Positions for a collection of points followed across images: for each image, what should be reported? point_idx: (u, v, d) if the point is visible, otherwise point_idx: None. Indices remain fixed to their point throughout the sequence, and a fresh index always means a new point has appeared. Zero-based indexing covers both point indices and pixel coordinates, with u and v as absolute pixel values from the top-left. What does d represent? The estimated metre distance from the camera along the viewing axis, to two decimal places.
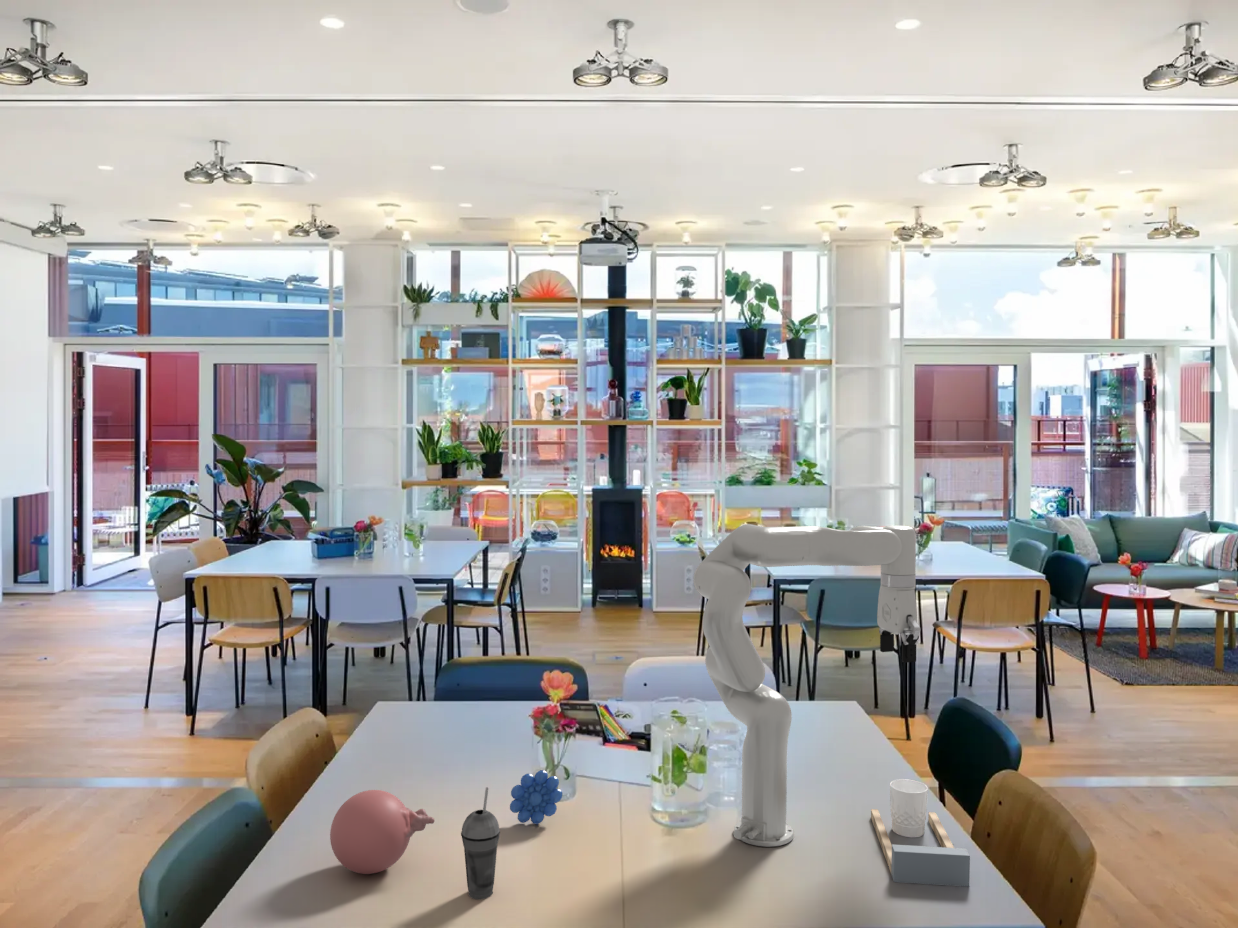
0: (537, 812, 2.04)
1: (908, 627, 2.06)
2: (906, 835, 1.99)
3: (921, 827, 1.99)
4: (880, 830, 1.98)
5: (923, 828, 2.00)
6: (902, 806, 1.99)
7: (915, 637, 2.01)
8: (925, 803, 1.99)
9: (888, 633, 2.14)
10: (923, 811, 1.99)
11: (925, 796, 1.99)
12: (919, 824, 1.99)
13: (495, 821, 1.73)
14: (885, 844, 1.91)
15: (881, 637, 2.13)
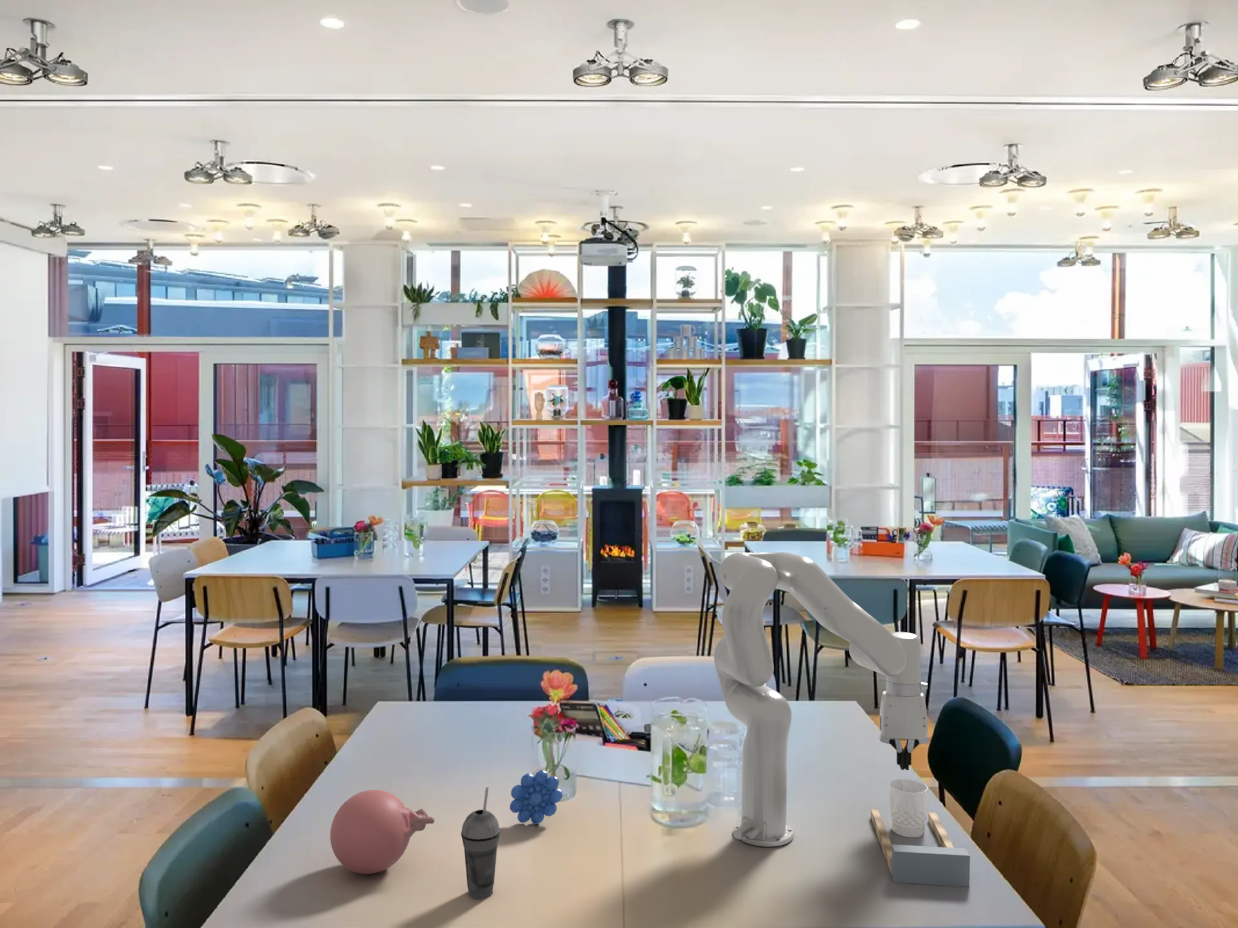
0: (537, 812, 2.04)
1: None
2: (906, 835, 1.99)
3: (921, 827, 1.99)
4: (880, 830, 1.98)
5: (923, 828, 2.00)
6: (902, 806, 1.99)
7: None
8: (925, 803, 1.99)
9: (905, 749, 2.11)
10: (923, 811, 1.99)
11: (925, 796, 1.99)
12: (919, 824, 1.99)
13: (495, 821, 1.73)
14: (885, 844, 1.91)
15: None
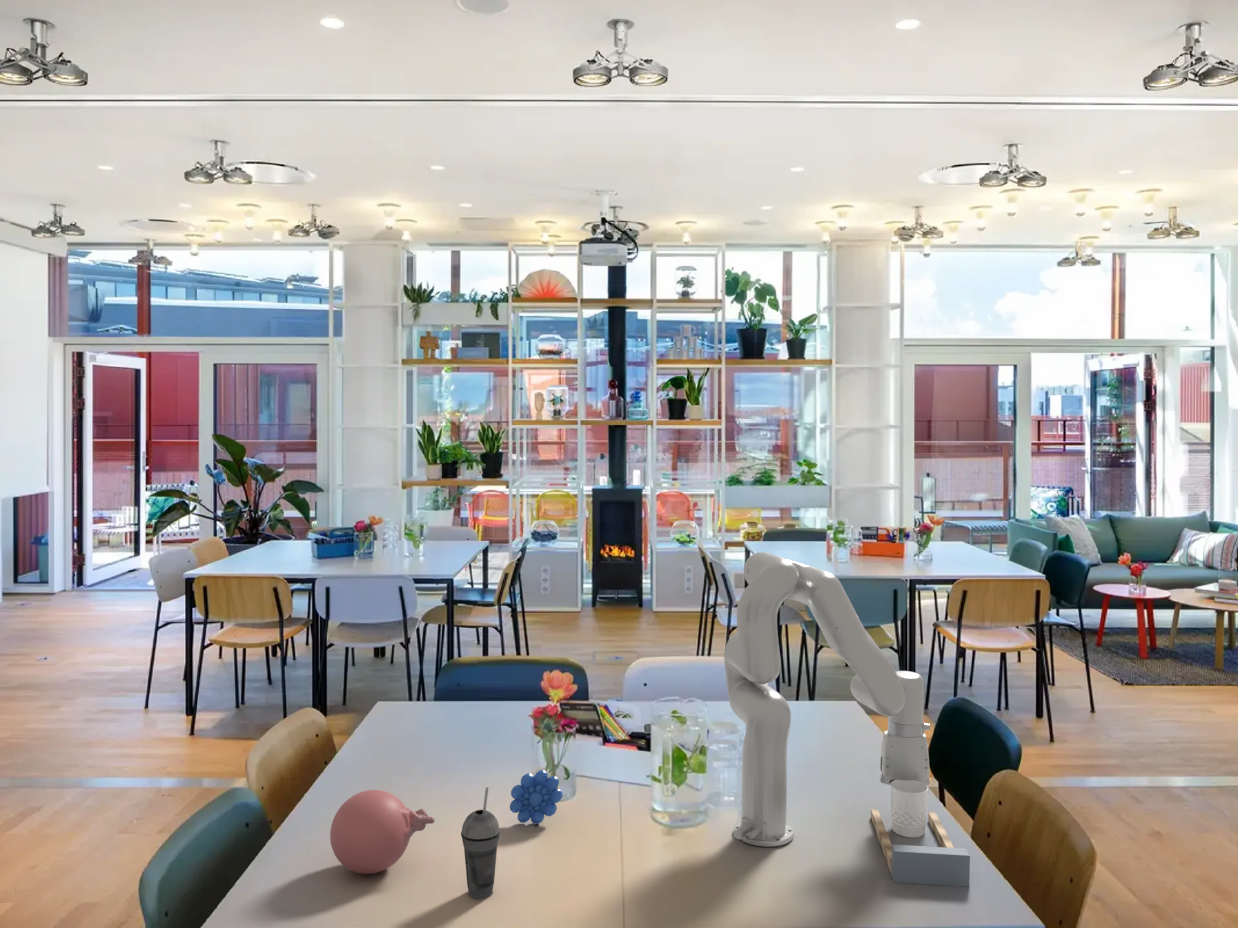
0: (537, 812, 2.04)
1: None
2: (906, 835, 1.99)
3: (921, 827, 1.99)
4: (880, 830, 1.98)
5: (923, 828, 2.00)
6: (902, 806, 1.99)
7: None
8: (925, 803, 1.99)
9: None
10: (923, 811, 1.99)
11: (926, 796, 1.99)
12: (919, 824, 1.99)
13: (495, 821, 1.73)
14: (885, 844, 1.91)
15: None
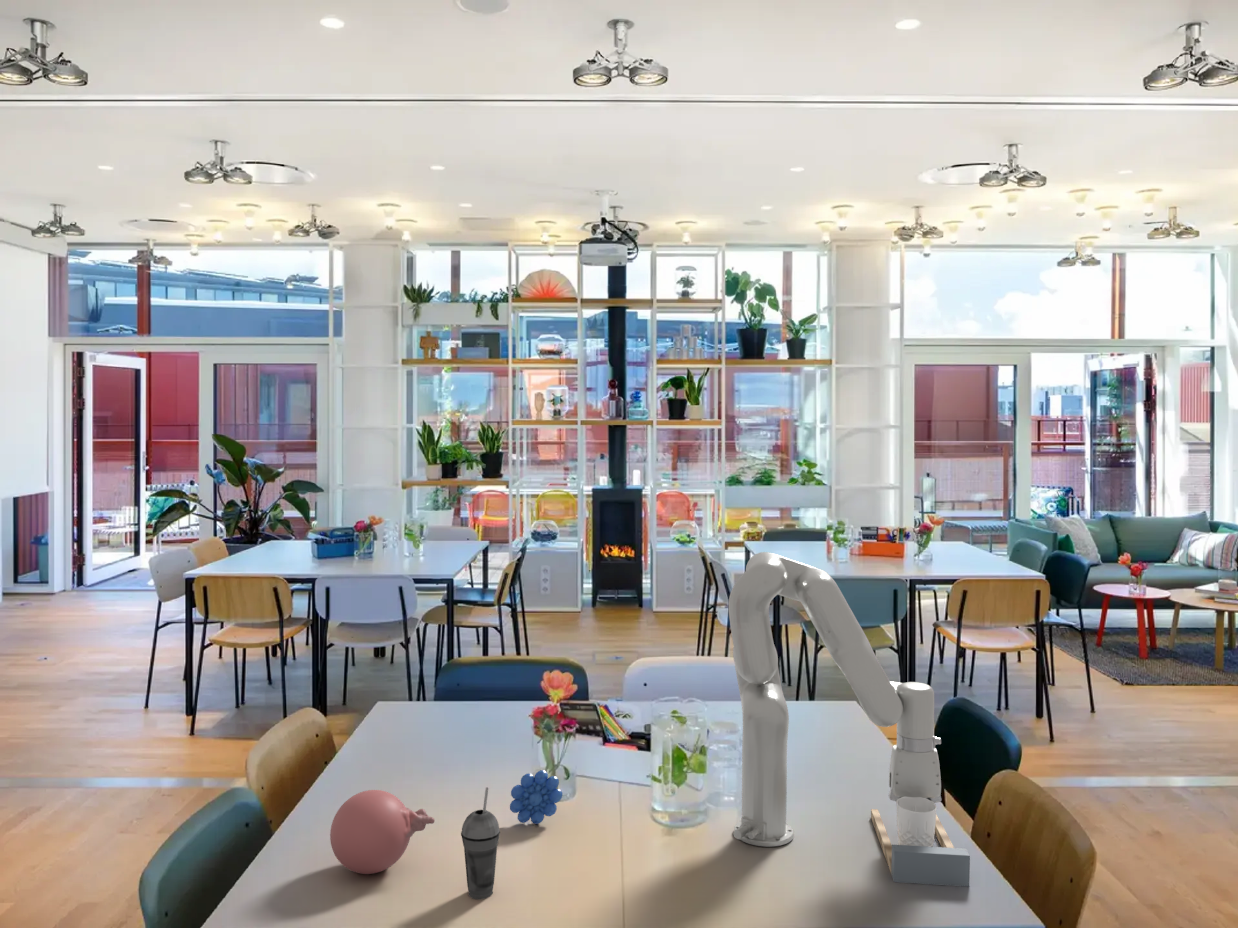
0: (537, 812, 2.04)
1: None
2: None
3: None
4: (880, 830, 1.98)
5: None
6: (905, 824, 1.89)
7: None
8: (931, 824, 1.89)
9: None
10: (928, 832, 1.88)
11: (931, 817, 1.88)
12: (923, 845, 1.89)
13: (495, 821, 1.73)
14: (885, 844, 1.91)
15: None
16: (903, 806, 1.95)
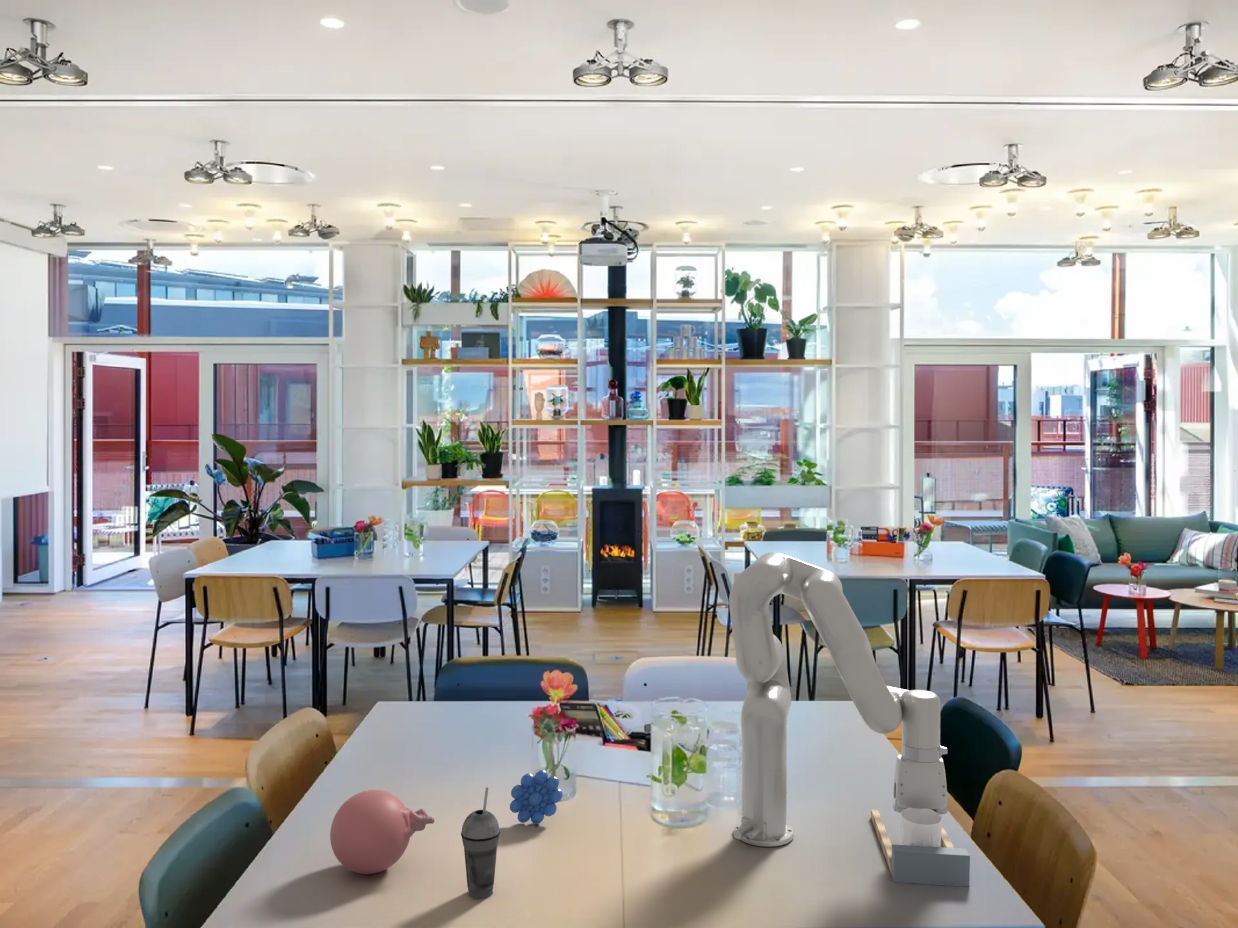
0: (537, 812, 2.04)
1: None
2: None
3: None
4: (880, 830, 1.98)
5: None
6: (909, 837, 1.84)
7: None
8: (936, 837, 1.83)
9: None
10: (933, 845, 1.82)
11: (936, 829, 1.82)
12: None
13: (495, 821, 1.73)
14: (885, 844, 1.91)
15: None
16: (908, 818, 1.89)
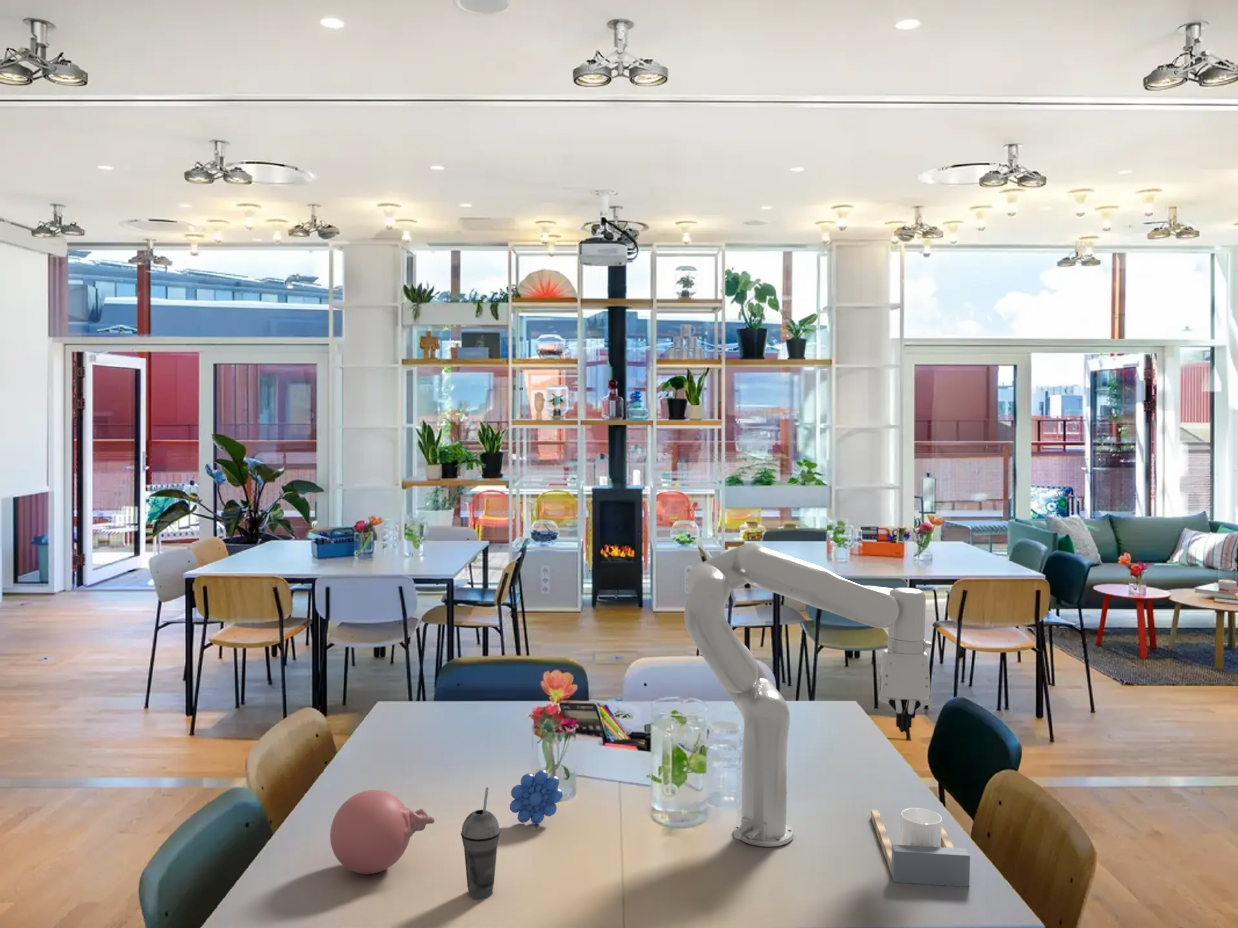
0: (537, 812, 2.04)
1: None
2: None
3: None
4: (880, 830, 1.98)
5: None
6: (909, 836, 1.84)
7: None
8: (936, 837, 1.83)
9: (905, 711, 2.00)
10: (933, 845, 1.83)
11: (937, 829, 1.83)
12: None
13: (495, 821, 1.73)
14: (885, 844, 1.91)
15: None
16: (908, 818, 1.89)
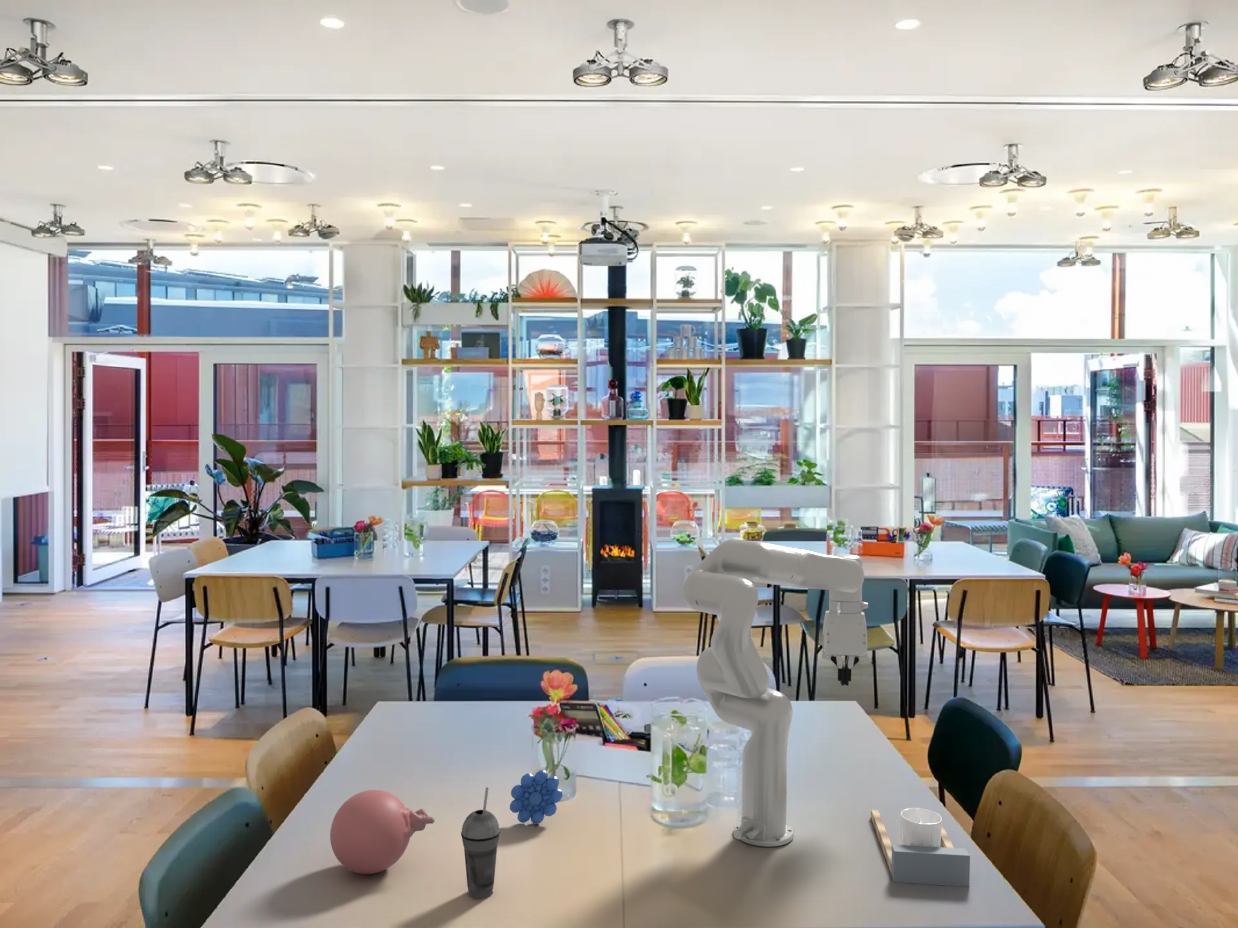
0: (537, 812, 2.04)
1: None
2: None
3: None
4: (880, 830, 1.98)
5: None
6: (909, 836, 1.84)
7: None
8: (936, 836, 1.83)
9: (845, 666, 2.19)
10: (933, 845, 1.83)
11: (936, 829, 1.83)
12: None
13: (495, 821, 1.73)
14: (885, 844, 1.91)
15: None
16: (908, 818, 1.89)
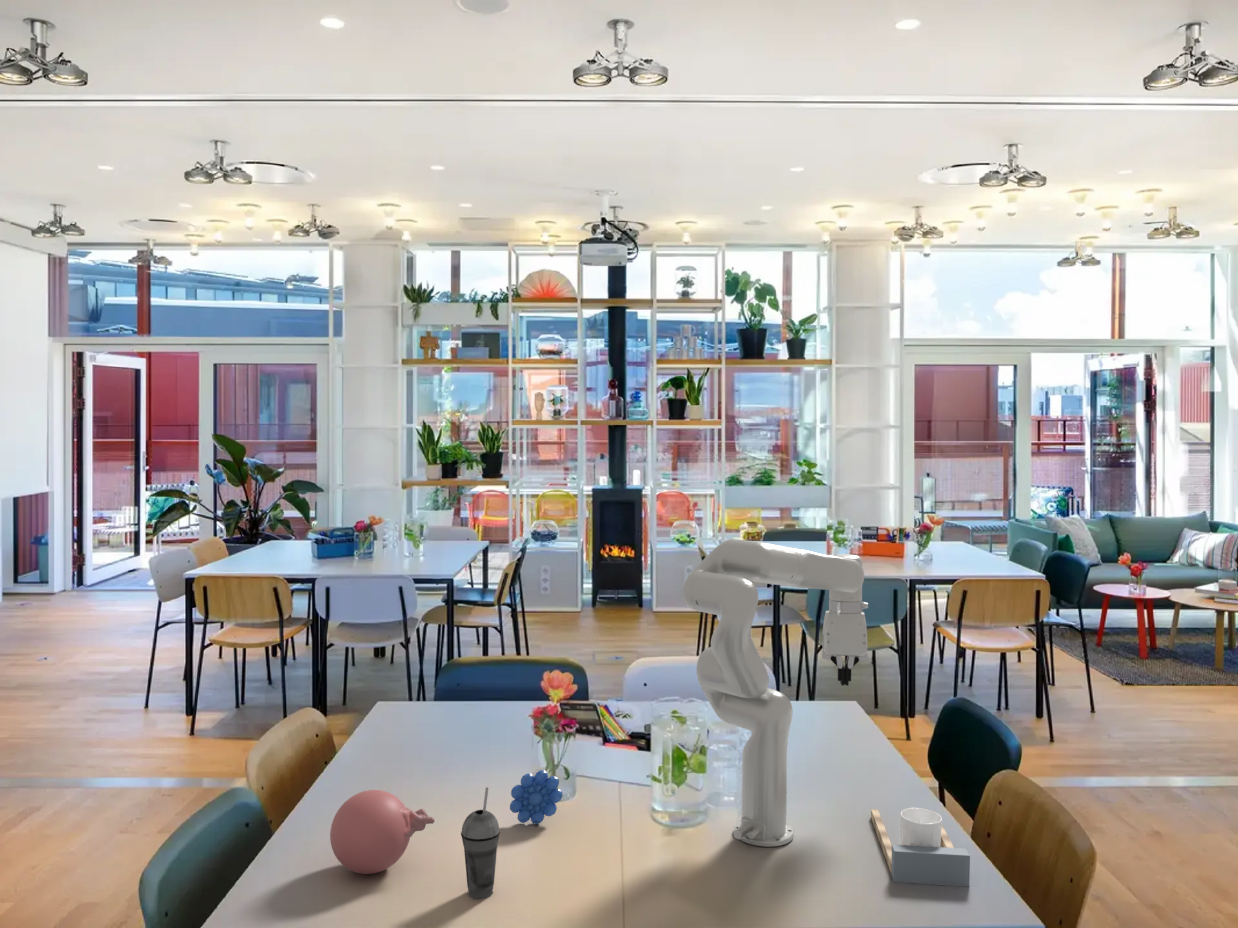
0: (537, 812, 2.04)
1: None
2: None
3: None
4: (880, 830, 1.98)
5: None
6: (909, 836, 1.84)
7: None
8: (936, 836, 1.83)
9: (845, 666, 2.19)
10: (933, 845, 1.83)
11: (936, 829, 1.83)
12: None
13: (495, 821, 1.73)
14: (885, 844, 1.91)
15: None
16: (908, 818, 1.89)
